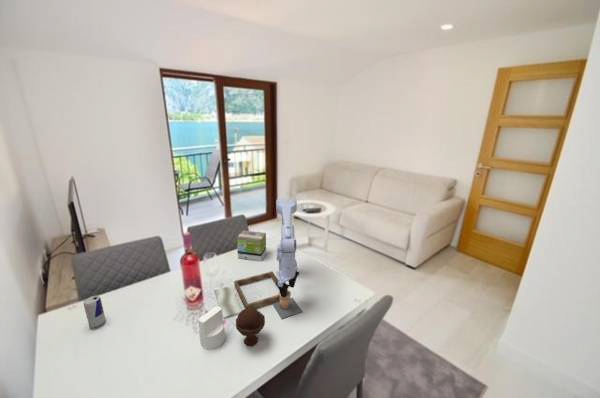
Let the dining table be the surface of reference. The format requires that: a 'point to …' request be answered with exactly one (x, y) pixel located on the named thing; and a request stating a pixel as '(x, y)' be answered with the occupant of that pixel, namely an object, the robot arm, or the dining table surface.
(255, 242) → the tea box
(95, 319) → the energy drink
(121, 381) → the dining table surface
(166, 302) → the dining table surface
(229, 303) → the frame
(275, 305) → the mat
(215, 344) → the cylinder with rectangular tab
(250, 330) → the ice cream bowl
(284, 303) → the terracotta pot
